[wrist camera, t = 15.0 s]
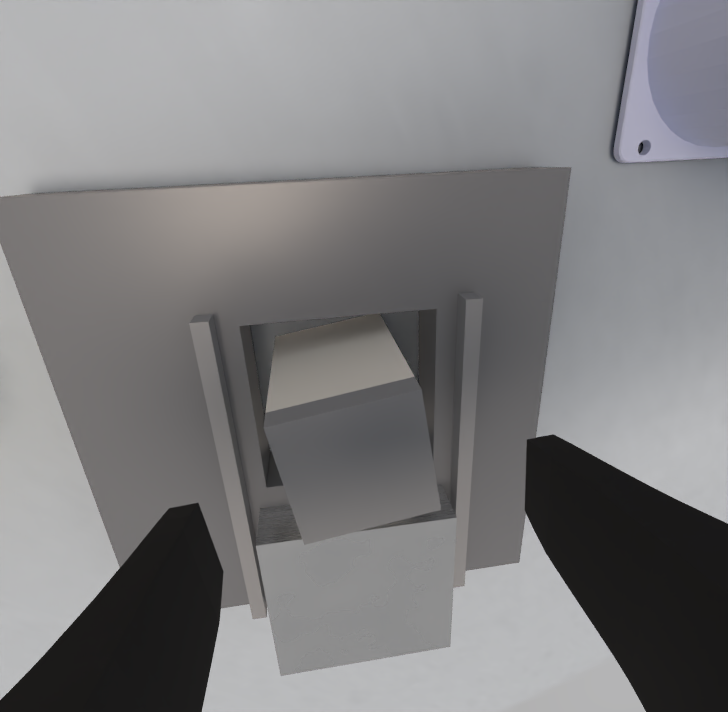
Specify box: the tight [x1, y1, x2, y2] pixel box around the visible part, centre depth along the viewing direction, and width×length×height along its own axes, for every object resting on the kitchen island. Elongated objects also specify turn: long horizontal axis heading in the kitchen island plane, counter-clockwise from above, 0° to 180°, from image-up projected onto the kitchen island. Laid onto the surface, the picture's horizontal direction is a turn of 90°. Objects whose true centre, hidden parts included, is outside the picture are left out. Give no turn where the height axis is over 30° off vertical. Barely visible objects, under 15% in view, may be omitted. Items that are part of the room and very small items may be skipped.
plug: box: [263, 314, 441, 545], centre depth 16 cm, size 4×4×7 cm
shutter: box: [256, 484, 457, 676], centre depth 19 cm, size 8×8×2 cm
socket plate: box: [0, 167, 571, 619], centre depth 18 cm, size 18×18×3 cm
